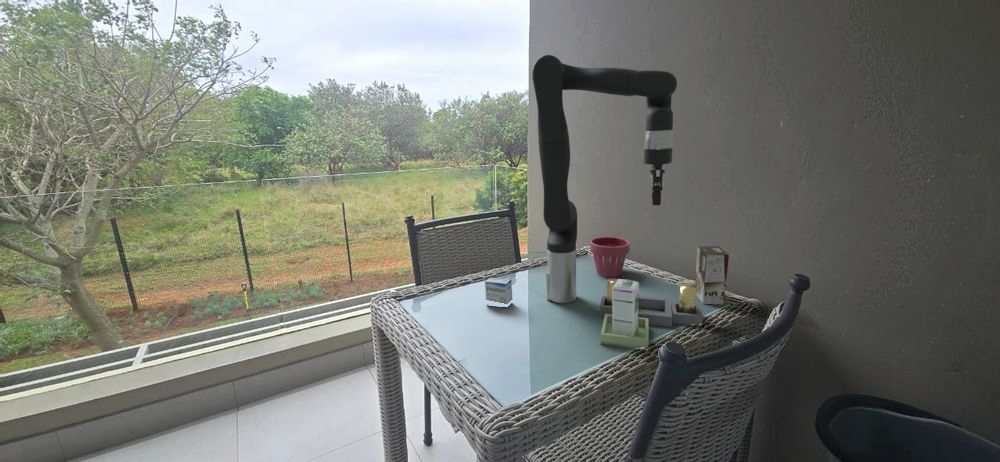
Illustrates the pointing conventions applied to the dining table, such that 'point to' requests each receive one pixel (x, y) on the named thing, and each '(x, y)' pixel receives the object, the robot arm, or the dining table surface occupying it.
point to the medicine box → (498, 290)
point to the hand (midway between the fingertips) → (656, 202)
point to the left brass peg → (610, 290)
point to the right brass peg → (687, 298)
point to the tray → (622, 340)
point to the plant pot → (609, 255)
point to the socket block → (660, 319)
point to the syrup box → (625, 307)
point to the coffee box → (711, 274)
